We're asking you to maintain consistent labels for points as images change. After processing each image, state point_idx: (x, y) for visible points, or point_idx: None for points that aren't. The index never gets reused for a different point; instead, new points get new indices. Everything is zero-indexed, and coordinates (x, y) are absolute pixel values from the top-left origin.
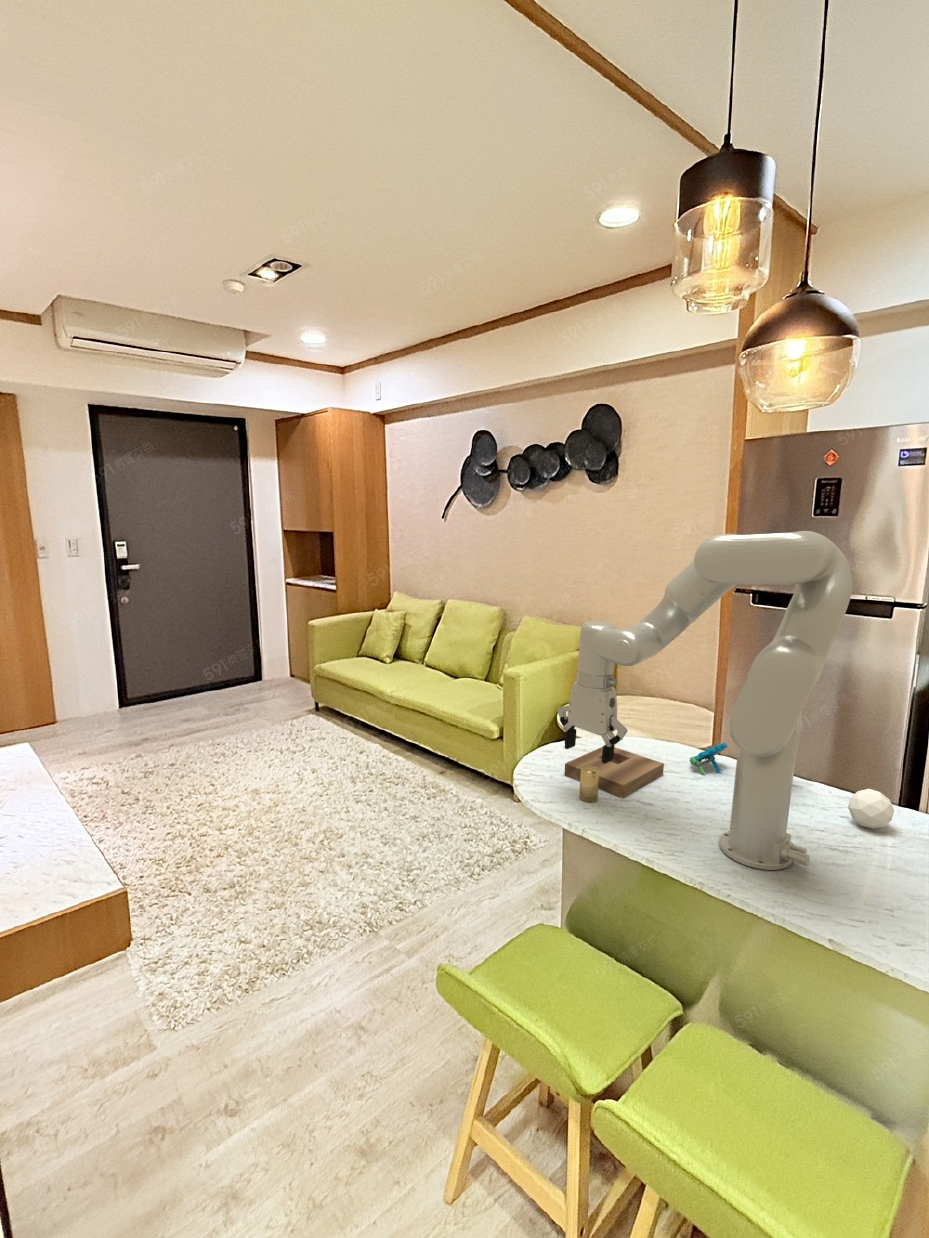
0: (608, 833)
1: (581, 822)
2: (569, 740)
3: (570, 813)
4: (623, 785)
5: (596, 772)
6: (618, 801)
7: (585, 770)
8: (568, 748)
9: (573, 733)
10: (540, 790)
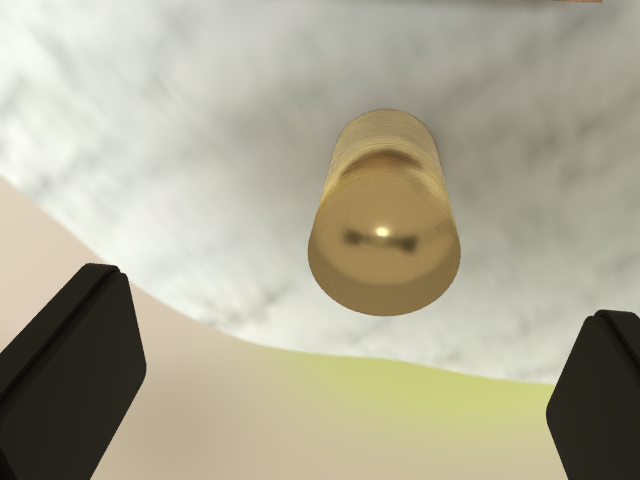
0: None
1: (466, 357)
2: (101, 430)
3: (392, 326)
4: (598, 2)
5: (453, 279)
6: (551, 66)
7: (369, 300)
8: (143, 361)
9: (38, 447)
10: (162, 237)
